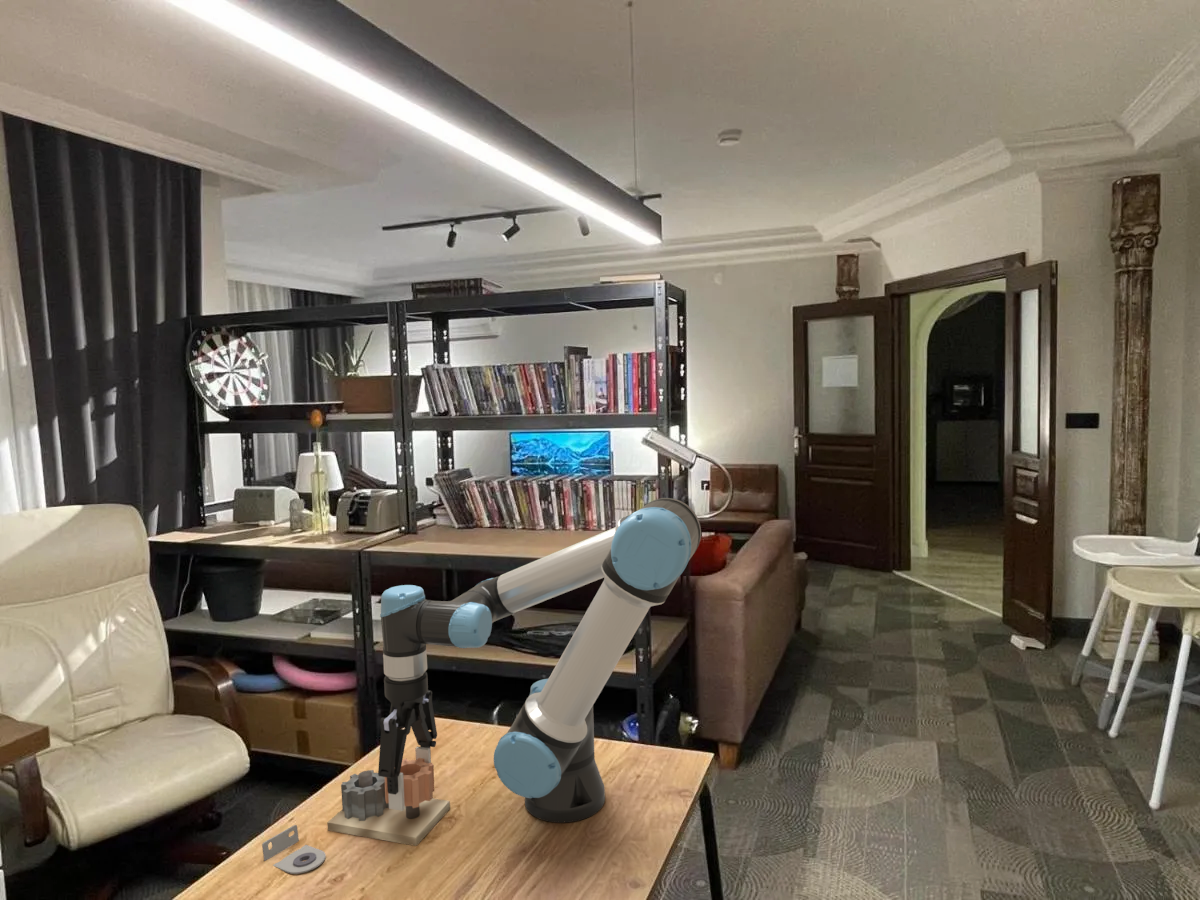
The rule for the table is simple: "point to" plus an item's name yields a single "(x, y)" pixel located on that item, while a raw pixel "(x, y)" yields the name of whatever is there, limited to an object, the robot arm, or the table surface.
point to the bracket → (294, 860)
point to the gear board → (383, 812)
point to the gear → (416, 782)
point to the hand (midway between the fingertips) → (411, 794)
